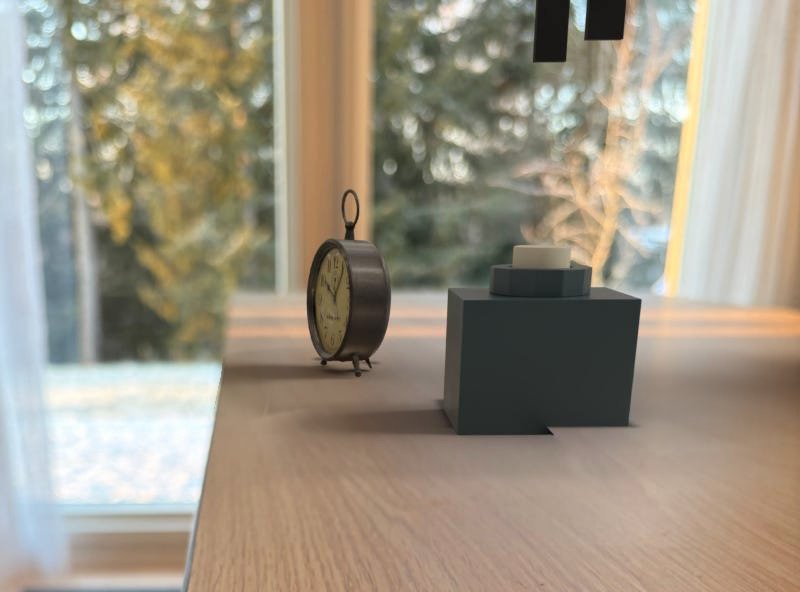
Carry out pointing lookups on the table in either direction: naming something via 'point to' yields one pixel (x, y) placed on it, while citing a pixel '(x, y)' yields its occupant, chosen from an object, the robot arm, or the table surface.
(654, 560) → the table surface
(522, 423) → the block with cream knob
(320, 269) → the alarm clock
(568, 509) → the table surface
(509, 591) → the table surface
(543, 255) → the lid button
